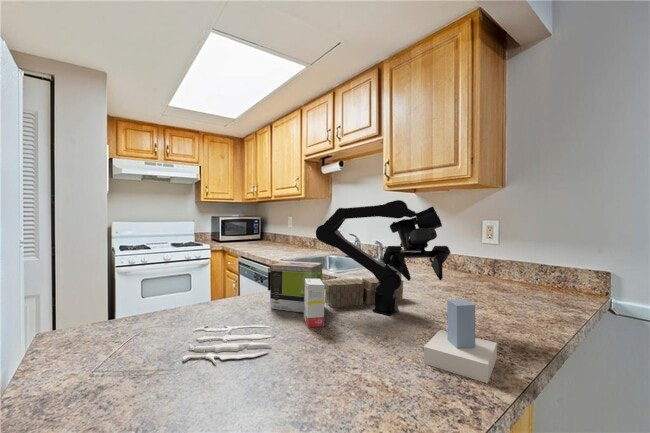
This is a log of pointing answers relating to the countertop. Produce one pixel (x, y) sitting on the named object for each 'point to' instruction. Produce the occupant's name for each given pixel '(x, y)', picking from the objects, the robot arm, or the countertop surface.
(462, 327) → the blue pillar
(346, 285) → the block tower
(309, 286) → the ink box
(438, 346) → the base block
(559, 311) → the countertop surface
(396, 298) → the robot arm
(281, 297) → the tea box
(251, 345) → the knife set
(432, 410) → the countertop surface
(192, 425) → the countertop surface
